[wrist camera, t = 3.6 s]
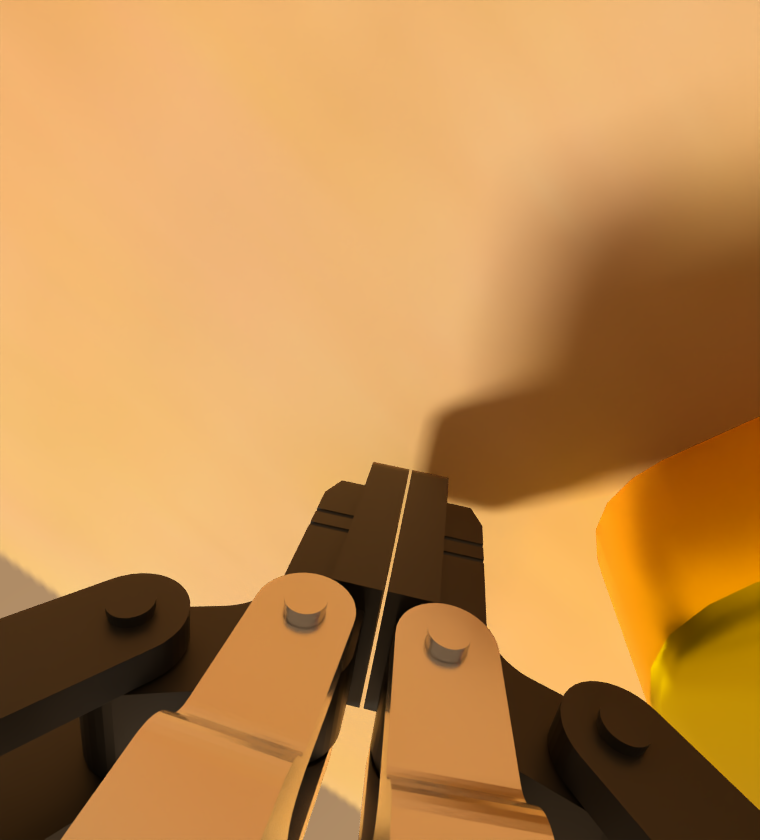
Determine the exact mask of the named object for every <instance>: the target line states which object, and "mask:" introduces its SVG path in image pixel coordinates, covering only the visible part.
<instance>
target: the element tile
mask: <svg viewBox="0 0 760 840" xmlns="http://www.w3.org/2000/svg"><path fill="white" fill-rule="evenodd" d="M596 542H597V559H598V563H599V566H600V569H601V573H602V576H603V579H604V582H605V584H606V587H607V590H608V593H609V596H610V599H611V601H612V604H613V607H614V610H615V613H616V616H617V619H618V621H619V624H620V627H621V630H622V633H623V636H624V638H625V641H626V644H627V647H628V650H629V653H630V656H631V658H632V661H633V664H634V667H635V670H636V673H637V676H638V678H639V681H640V684H641V687H642V690H643V693H644V695H645V698H646V701H647V704H649V705H650V706H651V707H652V708H653V709H654V710H656V711H657V712H658V713H659V714H660V715H661V716H662V717H663V718H664V719H665V720H666V721H667V722H668V723H669V724H670V725H671V726H672V727H673V728H674V729H675V730H677V731H678V732H679V733H680V734H681V735H682V736H683V737H684V738H685V739H686V740H687V741H688V742H689V743H690V744H691V745H692V746H693V747H694V748H695V749H696V750H697V751H698V752H699V753H701V754H702V755H703V756H704V757H705V758H706V759H707V760H708V761H709V762H710V763H711V764H712V765H713V766H714V767H715V768H716V769H717V770H718V771H719V772H720V773H721V774H722V775H723V776H725V777H726V778H727V779H728V780H729V781H730V782H731V783H732V784H733V785H734V786H735V787H736V788H737V789H738V790H739V791H740V792H741V793H742V794H743V795H744V796H745V797H746V798H747V799H749V800H750V801H751V802H752V803H753V804H754V805H755V806H756V807H757V808H758V809H759V810H760V417H757V418H755V419H753V420H751V421H749V422H746V423H744V424H742V425H740V426H737V427H735V428H733V429H731V430H729V431H726V432H724V433H722V434H720V435H717V436H715V437H713V438H711V439H708V440H706V441H704V442H702V443H700V444H697V445H695V446H693V447H691V448H688V449H686V450H684V451H682V452H680V453H677V454H675V455H673V456H671V457H668V458H666V459H664V460H662V461H660V462H659V463H657V464H655V465H654V466H652V467H650V468H649V469H647V470H645V471H644V472H642V473H640V474H639V475H637V476H635V477H634V478H632V479H631V480H630V481H629V482H628V483H627V484H626V485H625V486H624V487H623V488H622V489H621V490H620V491H619V492H618V493H617V494H616V495H615V496H614V497H613V498H612V499H611V500H610V501H609V502H608V503H607V505H606V507H605V510H604V512H603V514H602V517H601V519H600V521H599V524H598V526H597V528H596Z"/></svg>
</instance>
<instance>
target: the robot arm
mask: <svg viewBox="0 0 760 840" xmlns="http://www.w3.org/2000/svg"><path fill="white" fill-rule="evenodd" d="M408 474H409V469H404V468H399V467H395V466H390V465H385V464H381V463H376V462H374V463H373V465H372V467H371V470H370V473H369V476H368V479H367V481H366V484H365V485H360V484H356V483H351V482H346V481H341V482H339V483H338V484H336V485H335V486H333V487H332V488H330V489H329V490H327V491H326V492H325V493H324V495H323V497H322V499H321V501H320V504H319V506H318V508H317V511H316V512H315V514H314V516H313V518H312V520H311V523H310V525H309V526H308V528H307V530H306V532H305V534H304V536H303V538H302V540H301V542H300V544H299V546H298V548H297V551H296V553H295V555H294V557H293V559H292V561H291V563H290V565H289V567H288V569H287V571H286V573H285V575H284V576H281V577H278V578H276V579H274V580H272V581H270V582H269V583H267V584H266V585H265V586H264V587H262V588H261V590H260V591H259V592H258V593H257V595H256V596H255V598H254V599H253V601H251V602H247V603H244V604H238V605H231V606H204V607H190V599H189V596H188V594H187V592H186V590H185V589H184V588H183V587H182V586H181V585H180V584H179V583H178V582H176V581H175V580H173V579H170V578H168V577H165V576H162V575H157V574H147V573H140V574H130V575H125V576H120V577H117V578H113V579H110V580H108V581H105V582H102V583H99V584H96V585H94V586H91V587H88V588H85V589H82V590H79V591H77V592H74V593H71V594H68V595H65V596H63V597H60V598H57V599H54V600H51V601H49V602H46V603H43V604H40V605H37V606H34V607H32V608H29V609H26V610H23V611H20V612H18V613H15V614H12V615H9V616H7V617H4V618H1V619H0V840H303V838H304V835H305V831H306V829H307V826H308V823H309V820H310V817H311V813H312V811H313V808H314V805H315V801H316V798H317V796H318V792H319V789H320V786H321V783H322V780H323V777H324V774H325V771H326V768H327V765H328V762H329V759H330V756H331V751H332V746H333V745H334V743H335V741H336V739H337V738H338V735H339V732H340V728H341V724H342V720H343V716H344V711H345V707H346V704H347V705H351V706H355V707H360V702H361V697H362V693H363V688H364V683H365V679H366V674H367V669H368V665H369V660H370V655H371V651H372V646H373V641H374V637H375V632H376V627H377V623H378V618H379V613H380V609H381V604H382V599H383V595H384V590H385V585H386V581H387V576H388V571H389V567H390V562H391V557H392V552H393V547H394V543H395V538H396V533H397V528H398V523H399V518H400V513H401V508H402V503H403V498H404V493H405V488H406V484H407V479H408ZM447 495H448V478H447V477H442V476H438V475H433V474H428V473H424V472H419V471H414V470H412V475H411V480H410V485H409V490H408V495H407V500H406V504H405V509H404V514H403V519H402V524H401V529H400V534H399V538H398V543H397V548H396V553H395V558H394V563H393V568H392V572H391V577H390V582H389V587H388V592H387V597H386V602H385V607H384V611H383V616H382V621H381V626H380V631H379V636H378V641H377V646H376V650H375V655H374V660H373V665H372V670H371V675H370V680H369V684H368V689H367V694H366V699H365V704H364V709H368V710H372V711H376V717H375V723H374V728H373V734H372V739H371V744H370V748H369V753H368V757H367V762H366V768H365V778H364V788H363V797H362V807H361V817H360V826H359V836H358V840H760V810H759V809H758V808H757V807H756V806H755V805H754V804H753V803H752V802H751V801H750V800H749V799H747V798H746V797H745V796H744V795H743V794H742V793H741V792H740V791H739V790H738V789H737V788H736V787H735V786H734V785H733V784H732V783H731V782H730V781H729V780H728V779H727V778H726V777H725V776H723V775H722V774H721V773H720V772H719V771H718V770H717V769H716V768H715V767H714V766H713V765H712V764H711V763H710V762H709V761H708V760H707V759H706V758H705V757H704V756H703V755H702V754H701V753H699V752H698V751H697V750H696V749H695V748H694V747H693V746H692V745H691V744H690V743H689V742H688V741H687V740H686V739H685V738H684V737H683V736H682V735H681V734H680V733H679V732H678V731H677V730H675V729H674V728H673V727H672V726H671V725H670V724H669V723H668V722H667V721H666V720H665V719H664V718H663V717H662V716H661V715H660V714H659V713H658V712H657V711H656V710H654V709H653V708H652V707H651V706H650V705H649V704H647V703H646V702H645V701H643V700H642V699H640V698H639V697H638V696H636V695H634V694H632V693H631V692H629V691H627V690H625V689H623V688H620V687H618V686H615V685H612V684H609V683H604V682H598V681H587V682H581V683H578V684H575V685H574V686H572V687H571V688H569V689H568V691H567V692H566V693H565V694H564V696H563V695H561V694H559V693H557V692H555V691H553V690H551V689H549V688H547V687H545V686H544V685H542V684H540V683H538V682H536V681H534V680H532V679H530V678H529V677H527V676H525V675H523V674H522V673H520V672H519V671H518V670H516V669H515V668H514V667H512V666H511V665H510V664H509V663H508V662H507V661H506V660H505V659H504V658H503V657H502V656H501V655H500V653H499V648H498V644H497V642H496V640H495V638H494V636H493V634H492V633H491V631H490V630H489V629H488V628H487V624H486V602H485V579H484V563H483V560H484V556H483V548H482V547H483V533H482V525H481V523H480V522H479V520H478V519H477V517H476V516H475V514H474V513H473V511H472V509H471V508H467V507H463V506H458V505H454V504H449V503H447Z"/></svg>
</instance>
